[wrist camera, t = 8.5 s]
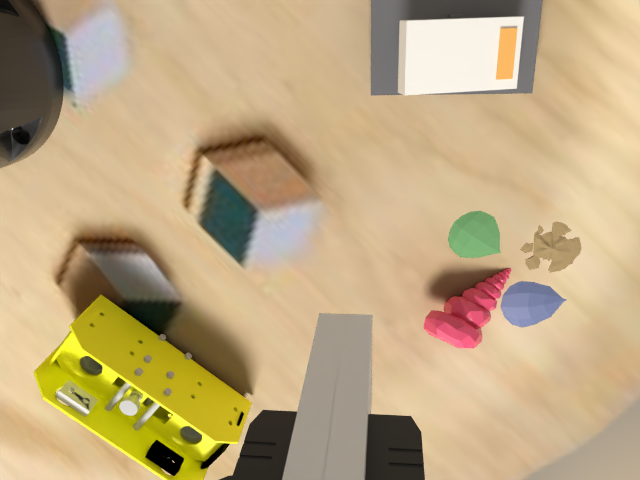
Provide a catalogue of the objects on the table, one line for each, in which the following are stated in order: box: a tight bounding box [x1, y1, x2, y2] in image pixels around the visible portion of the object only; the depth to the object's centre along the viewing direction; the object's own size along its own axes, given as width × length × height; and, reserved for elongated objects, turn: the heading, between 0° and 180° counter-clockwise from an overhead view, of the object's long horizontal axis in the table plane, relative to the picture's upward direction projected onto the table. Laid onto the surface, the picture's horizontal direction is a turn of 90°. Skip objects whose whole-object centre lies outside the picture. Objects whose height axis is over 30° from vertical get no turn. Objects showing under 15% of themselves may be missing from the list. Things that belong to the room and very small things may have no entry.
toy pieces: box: [424, 211, 581, 348], centre depth 41 cm, size 12×11×4 cm
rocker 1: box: [398, 16, 524, 95], centre depth 33 cm, size 7×4×1 cm, turn 92°
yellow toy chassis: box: [34, 295, 252, 480], centre depth 46 cm, size 16×6×8 cm, turn 51°
